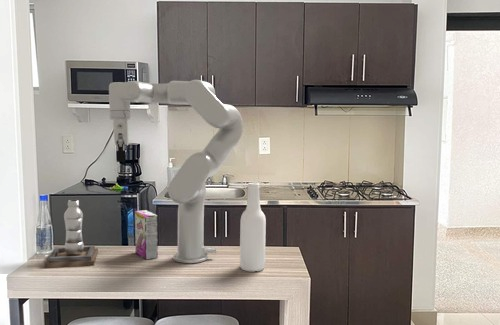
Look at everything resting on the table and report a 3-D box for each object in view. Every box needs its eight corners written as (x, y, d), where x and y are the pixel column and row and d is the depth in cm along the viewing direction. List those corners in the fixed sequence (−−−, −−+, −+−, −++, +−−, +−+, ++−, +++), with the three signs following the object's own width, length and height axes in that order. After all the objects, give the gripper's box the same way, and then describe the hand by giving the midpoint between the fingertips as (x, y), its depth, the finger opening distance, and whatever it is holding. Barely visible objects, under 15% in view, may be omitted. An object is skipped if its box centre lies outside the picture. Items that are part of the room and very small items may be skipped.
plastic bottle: (77, 257, 164) (77, 202, 162) (60, 256, 165) (59, 201, 164) (87, 252, 170) (86, 199, 169) (70, 251, 172) (70, 198, 170)
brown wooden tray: (97, 252, 176) (97, 244, 176) (93, 265, 161) (93, 256, 160) (53, 254, 173) (53, 246, 172) (44, 267, 157) (44, 259, 157)
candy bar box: (134, 252, 177) (134, 210, 175) (146, 251, 180) (146, 209, 178) (145, 260, 168) (145, 216, 166) (158, 258, 170) (158, 214, 169)
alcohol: (263, 273, 156) (265, 185, 153) (237, 271, 157) (239, 184, 154) (266, 265, 164) (267, 182, 162) (241, 263, 166) (243, 181, 163)
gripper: (130, 115, 166) (131, 162, 167) (130, 116, 182) (131, 159, 184) (108, 115, 164) (110, 162, 165) (110, 116, 181) (111, 159, 182)
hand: (121, 160), depth 175 cm, fingers open, 9 cm apart
